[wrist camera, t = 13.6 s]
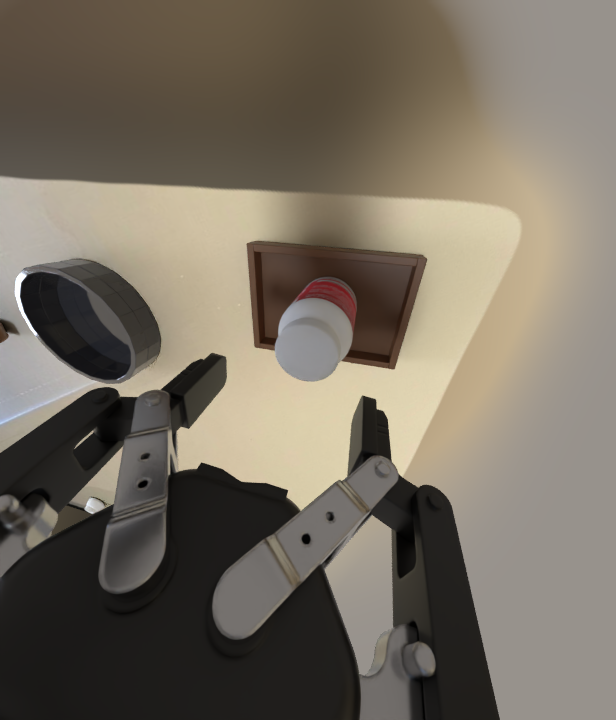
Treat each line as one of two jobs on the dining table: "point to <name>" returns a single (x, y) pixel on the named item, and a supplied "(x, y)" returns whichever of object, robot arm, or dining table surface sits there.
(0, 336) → the tin
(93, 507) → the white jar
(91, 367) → the bowl
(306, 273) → the tray
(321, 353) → the pill bottle
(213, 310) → the dining table surface
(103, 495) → the dining table surface
